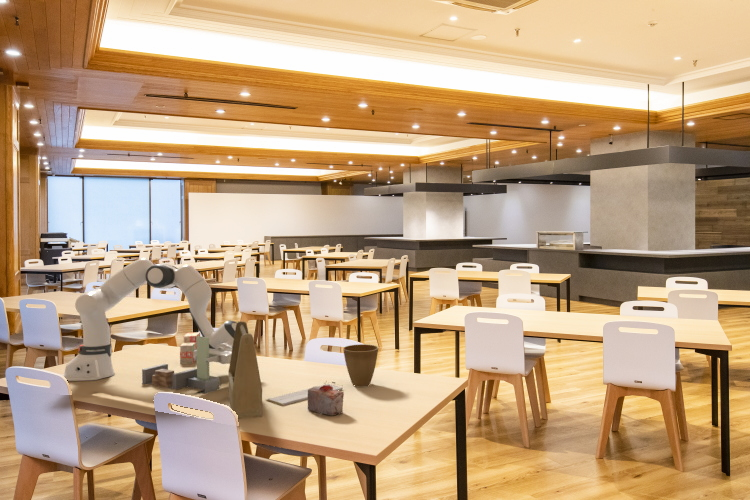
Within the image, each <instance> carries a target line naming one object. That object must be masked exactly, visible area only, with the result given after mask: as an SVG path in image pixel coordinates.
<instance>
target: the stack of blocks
mask: <svg viewBox="0 0 750 500" xmlns="http://www.w3.org/2000/svg"><path fill="white" fill-rule="evenodd" d="M198 336H200V337H201V333H200V331H199V332H197V331H196V332H192V331H191V332H187V333H185V334H184V336H183V342H182V343H181V344H180V346H179V350H180V351H179V364H180V365H185V364H186V365H188V364H189V365H191V364H192V365H193V364H194V363H195V361H196V360H194V357H193V352H194V350H197V337H198Z"/></svg>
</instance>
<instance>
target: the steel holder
mask: <svg viewBox="0 0 750 500" xmlns="http://www.w3.org/2000/svg"><path fill="white" fill-rule="evenodd" d="M186 388H190V389H196V390H199V391H196V393H199V394H202V395H203V394H204V395H206V394H209V393H212V392H215V391H218V390H220V377H219V376H213V375H209V379H208V380H206V379H200V378H197V376H195V377H191V378H188V379H187V387H186Z"/></svg>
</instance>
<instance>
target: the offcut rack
mask: <svg viewBox="0 0 750 500" xmlns="http://www.w3.org/2000/svg"><path fill="white" fill-rule="evenodd" d="M160 369H166V370H169V363H161V364H158V365H154V366H150V367H146V368H142V370H141V374H142V376H141V378H142V379H141V382H142V385H143V384H144V385H148V386H153V387H154V386H155V385H152V375H155V371H156V370H160ZM195 376H197V367H196V368H191V369H186V370H183V371H180V372H179V371H178V372H174V374H172V381H173V386H171V387H168V388H166V387H163V388H166V389H169V390H170V389H171V390H180V389H183V388H188V387H187V379H188V378H191V377H195ZM155 387H156V386H155ZM158 387H159V388H162V387H161V386H158Z"/></svg>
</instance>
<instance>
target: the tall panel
mask: <svg viewBox="0 0 750 500" xmlns="http://www.w3.org/2000/svg"><path fill="white" fill-rule="evenodd" d="M208 357H209V337H202V336H201V335H200V336H198V337H197V360H196V369H197V378H200V379H206V380H208V379H209V376H210V362H206V358H208Z"/></svg>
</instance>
